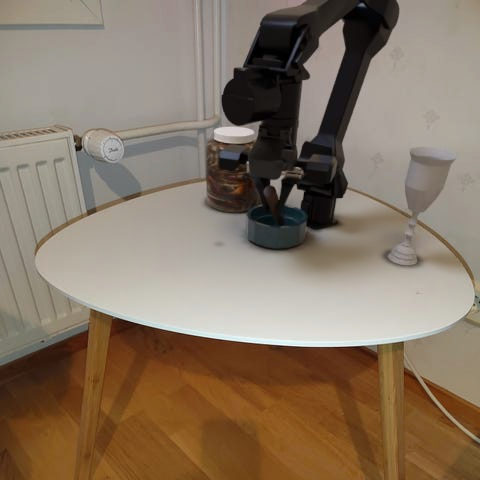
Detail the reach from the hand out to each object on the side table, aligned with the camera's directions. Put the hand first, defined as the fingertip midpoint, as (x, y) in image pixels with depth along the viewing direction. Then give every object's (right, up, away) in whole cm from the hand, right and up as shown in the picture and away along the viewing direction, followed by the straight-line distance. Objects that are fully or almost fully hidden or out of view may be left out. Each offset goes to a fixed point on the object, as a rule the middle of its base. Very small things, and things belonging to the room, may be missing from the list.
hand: (272, 213), depth 73 cm
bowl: (+1, -3, +7) cm, 8 cm away
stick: (+2, 0, +7) cm, 7 cm away
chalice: (+23, -8, +2) cm, 25 cm away
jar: (-7, +8, +21) cm, 24 cm away
